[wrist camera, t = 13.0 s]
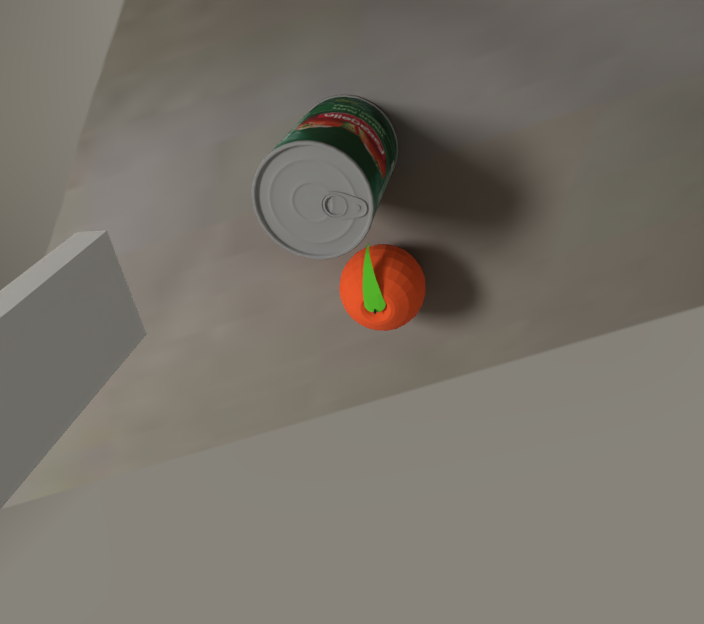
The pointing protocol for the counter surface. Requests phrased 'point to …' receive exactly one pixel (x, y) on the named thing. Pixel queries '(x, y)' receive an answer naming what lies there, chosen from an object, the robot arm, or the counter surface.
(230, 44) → the counter surface
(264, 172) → the canned tomato
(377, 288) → the clementine
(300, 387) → the counter surface
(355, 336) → the counter surface
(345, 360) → the counter surface
